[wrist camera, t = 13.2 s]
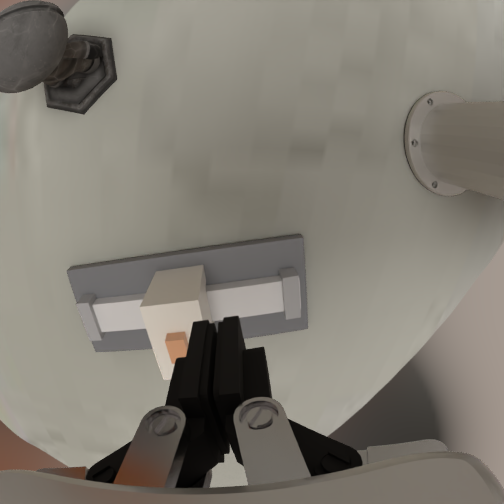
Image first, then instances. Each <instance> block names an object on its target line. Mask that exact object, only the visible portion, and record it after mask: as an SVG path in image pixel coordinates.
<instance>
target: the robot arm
mask: <svg viewBox="0 0 504 504" xmlns="http://www.w3.org/2000/svg"><path fill="white" fill-rule="evenodd" d="M411 142H412V144H411ZM405 149H406V155H407V159H408V162H409V165H410V167H411V169H412V171H413V173H414V175H415V176H416V178H417V179H418V180H419V182H420V183H421V184H422V185H423V186H424V187H425V188H427V189H428V190H430V191H432V192H434V193H436V194H439V195H443V196H455V195H458V194H461V193H463V192H464V191H466V190H468V189H469V190H472V191H475V192H479V193H482V194H485V195H488V196H492V197H495V198H498V199H501V200H504V101H494V102H468V103H467V102H466V101H465V100H463V99H462V98H461V97H459V96H458V95H456V94H454V93H451V92H447V91H437V92H431V93H429V94H427V95H424V96H423V97H422V98H420V99H419V100H418V101H417V102H416V103H415V105H414V106H413V107H412V109H411V111H410V113H409V115H408V119H407V122H406V127H405ZM230 445H231V448H232V450H233V453H234V454H235V457H236V460H237V462H238V463H240V464H241V465H243V466H244V469H245V473H246V477H247V481H248V485H247V486H234V487H216V488H209V487H210V483H211V478H212V470H211V469H212V468H213V467H214V466H216V465H217V464H218V463H221V462H224V454H229V452H230ZM0 504H504V489H503V487H502V485H501V484H500V482H499V481H498V479H497V478H496V477H495V475H494V474H493V473H492V471H491V470H490V469H489V468H488V467H487V466H486V465H485V464H484V463H483V462H482V461H481V460H480V459H478V458H477V457H475V456H473V455H471V454H467V453H462V452H452V451H448V449H447V447H446V445H444V444H443V443H442V442H440V441H437V440H421V441H415V442H408V443H400V444H393V445H384V446H374V447H368V449H367V450H361V451H356V450H355V449H353V448H351V447H350V446H347V445H345V444H343V443H340V442H338V441H335V440H333V439H331V438H328V437H326V436H324V435H322V434H319V433H317V432H315V431H313V430H311V429H308V428H306V427H304V426H302V425H300V424H298V423H296V422H294V421H292V420H290V419H288V418H287V416H286V413H285V411H284V408H283V407H282V405H281V404H280V403H279V402H278V401H276V400H275V399H272V394H271V387H270V380H269V373H268V367H267V361H266V355H265V350H264V347H259V348H253V349H246V347H245V343H244V338H243V333H242V329H241V324H240V319H239V316H231V317H224V318H223V322H218V332H217V330H216V326H215V323H210V322H209V320H202V321H195V322H193V324H192V329H191V334H190V339H189V344H188V349H187V354H186V357H180V358H177V359H176V361H175V365H174V369H173V373H172V378H171V382H170V386H169V391H168V395H167V400H166V404H165V406H161V407H157V408H155V409H153V410H151V411H149V412H148V413H147V414H146V415H145V416H144V417H143V419H142V420H141V423H140V425H139V427H138V429H137V431H136V433H135V436H134V438H133V440H132V441H131V442H129V443H128V444H126V445H124V446H123V447H121V448H120V449H118V450H117V451H115V452H113V453H112V454H110V455H109V456H107V457H105V458H104V459H102V460H100V461H99V462H97V463H96V464H94V465H93V466H92V467H91V468H90V469H87V467H86V466H85V467H70V468H44V469H39V470H37V471H28V470H5V471H0Z"/></svg>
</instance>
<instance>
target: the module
mask: <svg viewBox="0 0 504 504" xmlns="http://www.w3.org/2000/svg"><path fill="white" fill-rule="evenodd" d="M205 287H206V277H205V272H204V266H203V265H198V266H191V267H184V268H176V269H169V270H162V271H156V273H155V275H154V277H153V279H152V281H151V283H150V285H149V287H148V290H147V292H146V294H145V296H144V298H143V300H142V303H141V305H140V311H141V314H142V317H143V320H144V324H145V327H146V330H147V333H148V336H149V339H150V342H151V345H152V348H153V351H154V354H155V357H156V360H157V363H158V366H159V368H160V371H161V374H162V377H163V379H164V380H169V379H171V378H172V373H173V369H174V365H175V361H176V359H177V358H180V357H186V354H187V349H188V344H189V339H190V334H191V329H192V324H193V322H195V321H202V320H209V322H210V323H214V321H212V318H211V313H210V308H209V303H208V298H207V293H206V288H205Z"/></svg>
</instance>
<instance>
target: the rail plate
mask: <svg viewBox="0 0 504 504" xmlns="http://www.w3.org/2000/svg"><path fill="white" fill-rule="evenodd" d="M198 265H203V266H204V272H205V277H206V287H205V288H206V293H207V298H208V303H209V308H210V313H211V318H212V321H214V323H215V326H216V330H217V332H218V322H223V318H224V317H231V316H239V319H240V324H241V329H242V333H243V338H244V339H245V338H252V337H259V336H266V335H272V334H279V333H285V332H291V331H297V330H303V329H308V314H307V292H306V272H305V255H304V240H303V236H302V235H301V234H298V235H291V236H283V237H276V238H268V239H261V240H254V241H246V242H239V243H232V244H225V245H217V246H210V247H203V248H196V249H189V250H182V251H175V252H168V253H161V254H154V255H147V256H140V257H133V258H127V259H120V260H113V261H106V262H100V263H93V264H86V265H80V266H73V267H70V268H69V269H68V270H67V274H68V277H69V281H70V284H71V287H72V290H73V293H74V296H75V299H76V302H77V303H76V306H77V308H78V311H79V314H80V317H81V319H82V322H83V325H84V327H85V330H86V332H87V335H88V337H89V340H90V341H92V344H93V346H94V349H95V351H96V352H109V351H126V350H141V349H153V348H152V345H151V342H150V339H149V336H148V333H147V330H146V327H145V324H144V320H143V317H142V314H141V311H140V305H141V303H142V300H143V298H144V296H145V294H146V292H147V290H148V287H149V285H150V283H151V281H152V279H153V277H154V275H155V273H156V271H162V270H169V269H176V268H184V267H191V266H198Z"/></svg>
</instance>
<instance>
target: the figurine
mask: <svg viewBox="0 0 504 504" xmlns="http://www.w3.org/2000/svg"><path fill="white" fill-rule="evenodd" d="M116 80H117V75H116V68H115V62H114V55H113V48H112V41H111V38H104V37H96V36H87V35H76V34H73V35H71V36H70V37H69V38H68V28H67V23H66V21H65V19H64V14H63V12H62V11H61V10H60V8H59V7H58V6H56V5H55V4H53V3H50V2H44V1H39V0H29V1H23V2H20V3H17V4H14V5H12V6H9V7H8V8H6V9H4V10H3V11H2V12H0V92H4V93H17V92H22V91H25V90H28V89H30V88H33V87H34V86H36V85H38V84H39V83H41V82H42V81H43V82H44V87H45V95H46V102H47V107H49V108H54V109H60V110H65V111H70V112H75V113H80V114H85V113H86V112H87V110H88V109H89V108H90V107H91V106H92V105H93V104H94V103H95V102H96V101H97V100H98V98H99V97H100V96H101V95H102V94H103V93H104V92H105V91H106V90H107V89H108V88H109V87H110V86H111V85H112V84H113V83H114V82H115V81H116Z"/></svg>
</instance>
